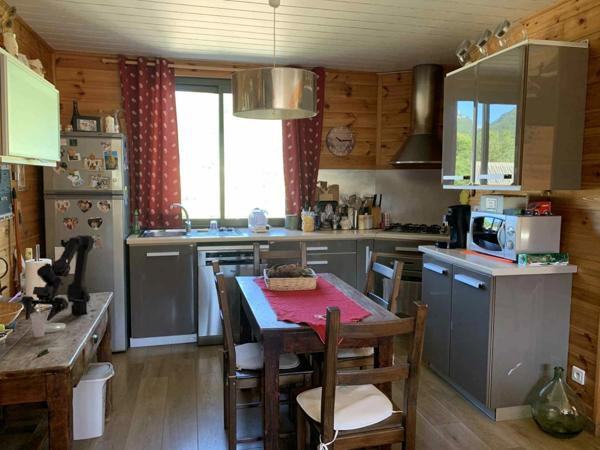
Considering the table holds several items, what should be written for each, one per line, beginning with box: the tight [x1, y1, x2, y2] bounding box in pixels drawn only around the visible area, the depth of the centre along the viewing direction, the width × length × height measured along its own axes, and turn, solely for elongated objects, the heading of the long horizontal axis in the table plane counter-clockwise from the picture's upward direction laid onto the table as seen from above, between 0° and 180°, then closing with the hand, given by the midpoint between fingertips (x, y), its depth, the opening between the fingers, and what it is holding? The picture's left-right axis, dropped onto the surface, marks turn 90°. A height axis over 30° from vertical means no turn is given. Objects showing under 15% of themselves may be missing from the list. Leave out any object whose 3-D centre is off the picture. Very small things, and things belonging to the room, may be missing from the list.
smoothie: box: [30, 304, 48, 338], centre depth 200 cm, size 6×6×14 cm
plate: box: [44, 322, 67, 334], centre depth 210 cm, size 11×11×1 cm
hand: (36, 320), depth 198 cm, fingers open, 9 cm apart
